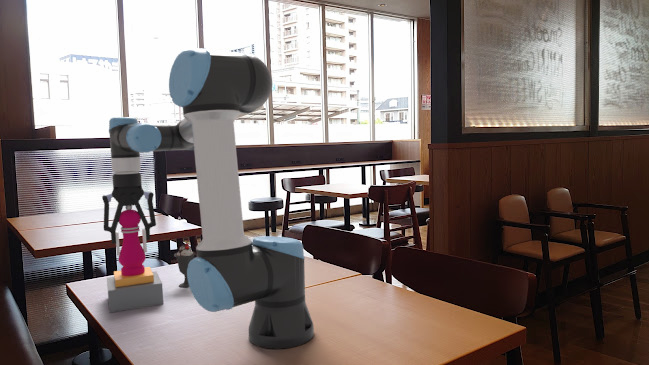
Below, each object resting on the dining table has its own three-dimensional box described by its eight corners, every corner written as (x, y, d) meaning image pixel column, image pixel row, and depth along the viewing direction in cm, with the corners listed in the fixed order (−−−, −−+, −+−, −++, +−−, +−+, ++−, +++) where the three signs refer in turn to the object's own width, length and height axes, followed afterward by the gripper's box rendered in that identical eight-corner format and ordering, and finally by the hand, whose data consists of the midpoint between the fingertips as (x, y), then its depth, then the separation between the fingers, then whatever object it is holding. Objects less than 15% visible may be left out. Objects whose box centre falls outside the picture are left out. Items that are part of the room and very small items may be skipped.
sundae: (194, 288, 156) (192, 240, 155) (173, 288, 156) (170, 241, 155) (200, 281, 163) (197, 236, 161) (179, 282, 163) (177, 236, 162)
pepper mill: (137, 277, 141) (132, 206, 139) (114, 276, 142) (109, 206, 140) (151, 270, 148) (147, 202, 146) (129, 269, 149) (124, 202, 147)
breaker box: (163, 303, 142) (162, 283, 142) (109, 312, 137) (108, 290, 136) (157, 290, 155) (156, 271, 154) (108, 297, 149) (106, 277, 149)
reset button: (155, 299, 143) (153, 274, 143) (116, 304, 139) (115, 280, 138) (151, 289, 152) (149, 266, 152) (115, 294, 148) (113, 271, 148)
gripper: (161, 169, 150) (165, 246, 152) (88, 173, 142) (94, 254, 144) (164, 171, 143) (168, 251, 145) (88, 175, 135) (94, 260, 137)
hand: (131, 252), depth 145 cm, fingers closed on pepper mill, 6 cm apart
